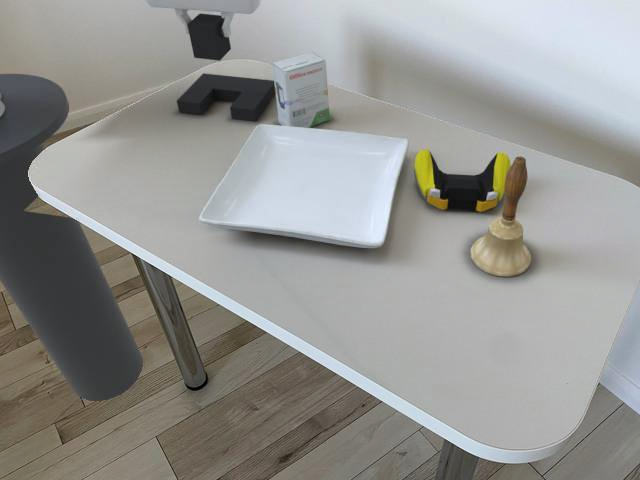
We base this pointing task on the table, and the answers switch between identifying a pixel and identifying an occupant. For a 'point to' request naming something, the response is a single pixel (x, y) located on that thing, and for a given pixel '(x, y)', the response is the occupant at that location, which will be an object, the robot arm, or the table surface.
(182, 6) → the robot arm
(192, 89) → the base pad
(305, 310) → the table surface
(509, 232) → the hand bell
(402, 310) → the table surface
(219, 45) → the black block
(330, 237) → the square plate
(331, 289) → the table surface
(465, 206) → the gaming controller
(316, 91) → the ink box
